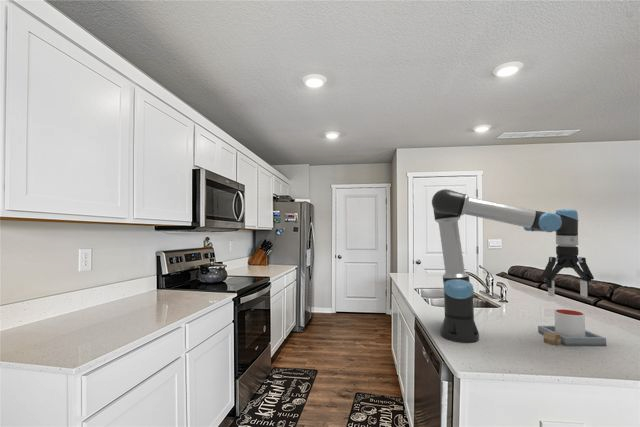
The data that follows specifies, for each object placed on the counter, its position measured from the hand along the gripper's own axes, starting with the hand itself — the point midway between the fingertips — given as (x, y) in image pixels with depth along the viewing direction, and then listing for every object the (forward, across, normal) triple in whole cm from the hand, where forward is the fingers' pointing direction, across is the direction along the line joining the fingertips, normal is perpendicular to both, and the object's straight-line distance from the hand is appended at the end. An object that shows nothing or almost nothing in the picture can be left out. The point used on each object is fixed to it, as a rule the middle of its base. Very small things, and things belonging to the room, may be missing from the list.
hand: (567, 296), depth 135 cm
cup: (+17, +1, 0) cm, 17 cm away
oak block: (+18, -10, -5) cm, 21 cm away
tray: (+18, +1, 0) cm, 18 cm away
